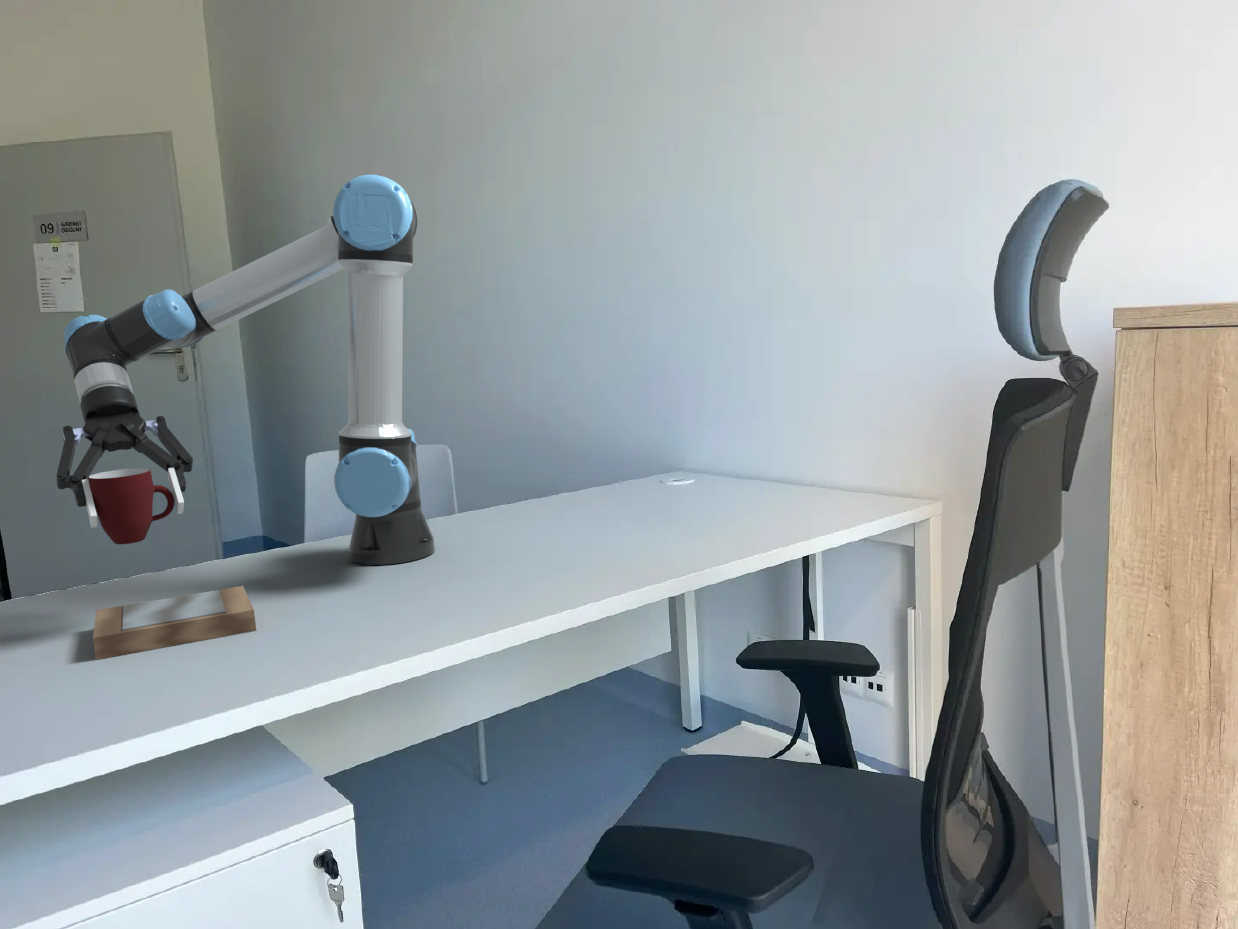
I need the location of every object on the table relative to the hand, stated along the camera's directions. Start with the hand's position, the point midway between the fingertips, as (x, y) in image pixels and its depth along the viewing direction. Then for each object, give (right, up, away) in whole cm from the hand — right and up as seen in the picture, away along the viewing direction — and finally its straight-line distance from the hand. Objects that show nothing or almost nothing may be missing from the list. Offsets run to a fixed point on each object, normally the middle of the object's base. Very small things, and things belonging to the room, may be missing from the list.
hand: (138, 514), depth 137 cm
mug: (-1, -4, +3) cm, 5 cm away
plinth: (+5, -17, +1) cm, 17 cm away
